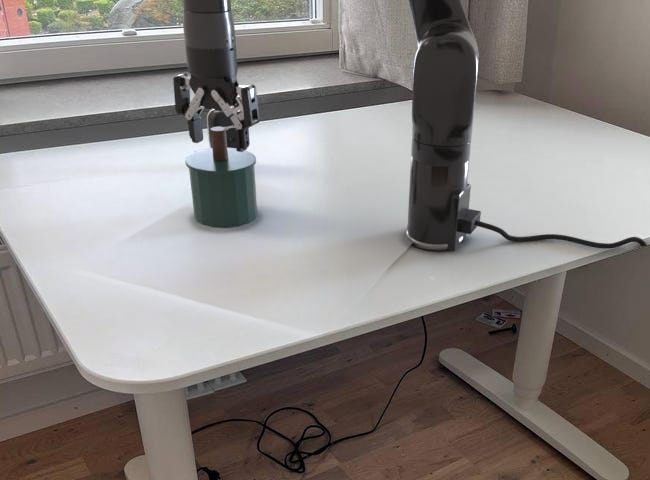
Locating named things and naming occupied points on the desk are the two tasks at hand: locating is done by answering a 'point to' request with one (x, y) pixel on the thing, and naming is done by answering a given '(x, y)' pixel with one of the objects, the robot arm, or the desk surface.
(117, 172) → the desk surface
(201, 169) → the lid
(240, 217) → the tin
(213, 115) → the battery charger
